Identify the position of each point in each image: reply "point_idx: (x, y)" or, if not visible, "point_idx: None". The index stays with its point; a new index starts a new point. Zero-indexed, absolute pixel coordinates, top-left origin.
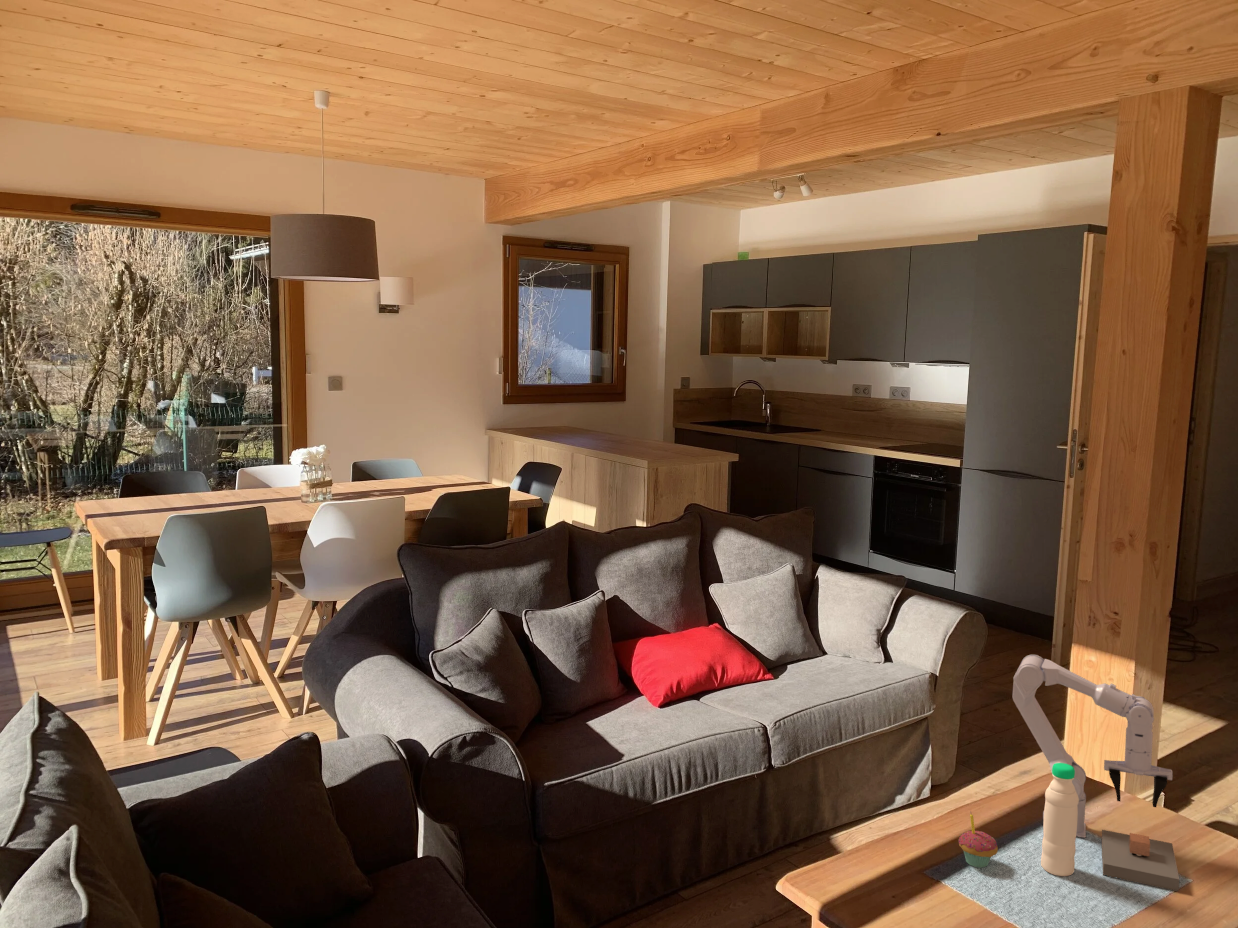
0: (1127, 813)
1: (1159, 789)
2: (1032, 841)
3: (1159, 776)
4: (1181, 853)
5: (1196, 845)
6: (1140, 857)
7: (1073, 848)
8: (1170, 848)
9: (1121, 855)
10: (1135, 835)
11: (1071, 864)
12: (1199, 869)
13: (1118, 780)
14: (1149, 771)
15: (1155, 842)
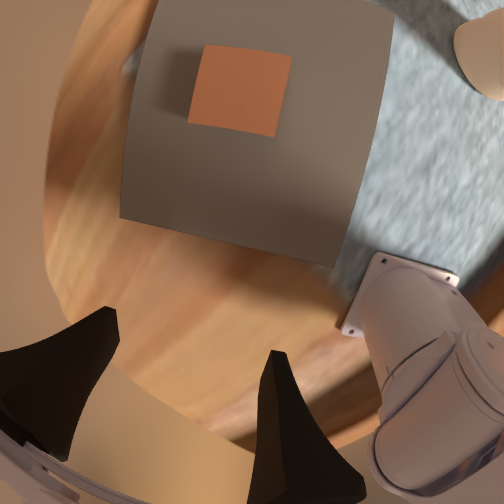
0: (211, 388)
1: (25, 356)
2: (500, 206)
3: (6, 432)
4: (114, 220)
5: (87, 272)
6: None
7: (499, 10)
8: (129, 176)
9: (322, 66)
10: (251, 113)
11: (474, 19)
12: (91, 139)
13: (299, 465)
14: (14, 488)
15: (166, 208)
